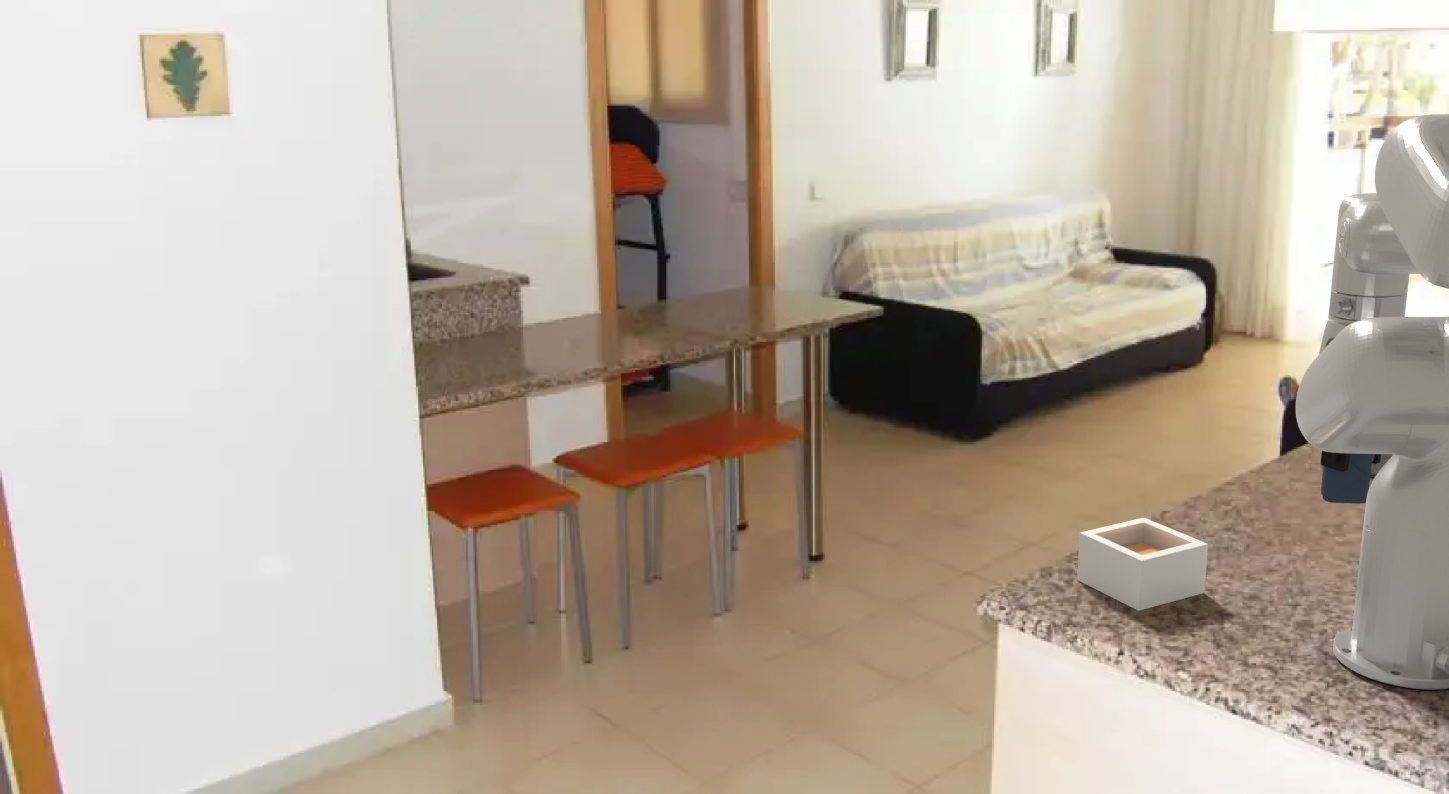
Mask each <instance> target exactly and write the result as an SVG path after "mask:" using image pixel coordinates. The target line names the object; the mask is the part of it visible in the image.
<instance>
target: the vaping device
mask: <svg viewBox="0 0 1449 794" xmlns="http://www.w3.org/2000/svg"><path fill="white" fill-rule="evenodd" d="M1374 456H1375V454H1355V453H1350V457H1349V467H1348V470H1347V471H1344V472H1341V471H1338V470H1335V469H1332V468H1328V467H1325V466H1323V465H1322V474H1321V483H1320V484H1321V485H1320V494H1321V496H1322V499H1323V501H1325V502H1327V503H1331V504H1353V505H1354V504H1357V505H1359V504H1366V498H1367V493H1368V490H1369V487H1370V485H1371V474H1372V473H1371V472H1372V467H1373V466H1372V465H1373V464H1372V462H1373V460H1374Z"/></svg>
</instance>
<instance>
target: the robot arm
mask: <svg viewBox="0 0 1449 794" xmlns="http://www.w3.org/2000/svg"><path fill="white" fill-rule="evenodd" d="M1374 169H1375V170H1374V183H1375V192H1373V193H1372V192H1367V193H1357V194H1356V193H1355V194H1352V195H1349V196H1347V197H1346V198H1344V199H1343V200H1342V201H1341V203H1340V205H1339V210H1338V214H1337V215H1338V216H1337V225H1336V226H1337V227H1336V237H1335V246H1334V255H1333V256H1334V258H1333V265H1332V266H1333V268H1332V278H1331V287H1330V288H1331V289H1330V296H1329V297H1330V298H1329V309H1328V318H1327V319H1328V320H1326V323H1325V326H1324V327H1325V328H1324V331H1323V333H1322V334H1323V335H1322V339H1321V343H1320V348H1319V354H1318V355H1317V356H1316V357H1315V358H1314V360H1313V361H1312V362H1311V363H1310V364H1309V366H1308V367H1307V369H1306V370H1305V372H1304V374H1303V375H1302V378H1301V380H1300V383H1299V386H1298V389H1297V393H1296V400H1295V418H1296V422H1297V426H1298V428H1299V431H1300V432H1301V434H1302V436H1303V437H1304V439H1305V440H1306V441H1307V442H1308V443H1309V444H1310V445H1311V446H1312V447H1315V448H1316V449H1318V450H1320V451H1321V457H1320V465H1321V466H1322V467H1323V466H1325V467H1328V468H1332V469H1335V470H1338V471H1341V472H1344V471H1347V470H1348V467H1349V457H1350V453H1355V454H1375V456H1374V460H1373V462H1372V465H1378V464H1379V463H1381V459H1382V458H1381V457H1382V455H1392V456H1391V457H1390V458H1389V459H1388V460H1387V461H1386V462H1385V463H1384V464H1383V465H1382V467H1381V468H1380V469H1379V470H1378V472H1377V473H1376V474H1375V476H1374V477H1373V479H1372V481H1371V482H1370V485H1369V490H1368V493H1367V498H1366V503H1365V508H1364V514H1363V515H1364V516H1363V525H1362V532H1361V533H1362V535H1361V544H1360V551H1359V561H1358V571H1357V580H1356V588H1355V600H1354V606H1353V607H1354V608H1353V616H1352V617H1353V618H1352V626H1351V627H1347V628H1345V629H1342V630H1341V631H1340V632H1338V633H1336V635H1335V637H1334V639H1333V646H1332V649H1333V650H1332V651H1333V654H1334V655H1335V658H1336V659H1337V660H1338V661H1339V662H1340V663H1341V664H1342V665H1344V666H1345V667H1346V668H1348V669H1349V670H1351V671H1353V672H1355V673H1356V674H1359V675H1360V676H1363V677H1366V678H1368V679H1371V680H1374V681H1377V682H1380V683H1383V684H1387V685H1392V686H1396V687H1400V688H1408V689H1415V690H1416V689H1417V690H1445V689H1449V316H1406V309H1407V300H1408V299H1407V297H1408V291H1409V283H1410V281H1409V280H1410V275H1420V276H1421V277H1422V278H1423V279H1424V280H1426V281H1427V282H1429V283H1430V284H1432V285H1435V286H1438V287H1440V288H1445V289H1448V290H1449V114H1447V113H1445V114H1443V113H1441V114H1440V113H1439V114H1436V113H1435V114H1432V113H1431V114H1423V115H1422V114H1421V115H1417V116H1414V117H1412V118H1409V119H1407V120H1405V121H1403V122H1401V123H1400V124H1399V125H1397V126H1396V127H1395V128H1394V129H1392V131H1390V133H1389V134H1388V136H1387V137H1386V139H1385V140H1384V142H1383V143H1382V145H1381V148H1380V149H1379V151H1378V156H1377V157H1376V162H1375V168H1374Z"/></svg>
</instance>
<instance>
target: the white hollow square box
mask: <svg viewBox="0 0 1449 794" xmlns="http://www.w3.org/2000/svg"><path fill="white" fill-rule="evenodd" d="M1078 539H1079V540H1078V557H1077V560H1078V562H1077V579H1076V580H1077V581H1079V582H1081V583H1082V584H1084V585H1086V586H1088V587H1090V588H1092V589H1095V590H1097V591H1099V592H1100V593H1102V594H1104V595H1106V596H1108V597H1110V598H1112V599H1114V600H1115V601H1118V602H1120V603H1122V604H1124V605H1126V606H1128V607H1130V608H1132V609H1134V610H1136V611H1137V612H1140V611H1143V610H1147V609H1151V608H1154V607H1158V606H1161V605H1165V604H1169V603H1172V602H1175V601H1180V600H1183V599H1187V598H1190V597H1195V596H1198V595H1202V594H1205V590H1206V577H1207V563H1208V551H1209V543H1206V542H1205V541H1202V540H1200V539H1197V538H1195V537H1193V536H1190V535H1187V534H1185V533H1182V532H1180V531H1177V530H1175V529H1173V528H1171V527H1168V526H1165V525H1163V524H1161V523H1158V522H1156V521H1153V520H1151V519H1149V518H1146V517H1140V518H1136V519H1132V520H1127V521H1123V522H1119V523H1114V524H1111V525H1107V526H1102V527H1097V528H1093V529H1089V530H1085V531H1081V532H1080V531H1079V538H1078ZM1139 543H1145V544H1147V545H1149V546H1152V547H1154V548H1156V549H1158V550H1161V551H1157V552H1153V553H1149V554H1145V555H1140V554H1138V553H1136V552H1134V551H1131V550H1129V549H1127V548H1125V547H1126V546H1131V545H1135V544H1139Z"/></svg>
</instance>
